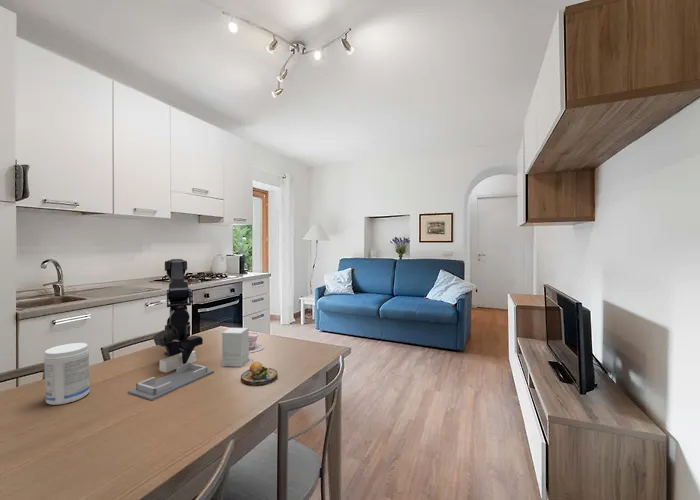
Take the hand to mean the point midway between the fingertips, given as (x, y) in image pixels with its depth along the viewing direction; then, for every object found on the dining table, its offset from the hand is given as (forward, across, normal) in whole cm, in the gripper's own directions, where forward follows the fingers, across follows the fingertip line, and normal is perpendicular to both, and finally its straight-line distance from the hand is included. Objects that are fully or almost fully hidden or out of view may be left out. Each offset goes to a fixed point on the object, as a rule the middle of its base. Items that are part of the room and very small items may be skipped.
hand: (178, 362), depth 115 cm
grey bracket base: (+1, +11, -10) cm, 15 cm away
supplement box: (+2, +17, +11) cm, 20 cm away
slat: (+2, 0, 0) cm, 2 cm away
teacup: (+2, +10, +26) cm, 28 cm away
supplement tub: (+2, -7, -30) cm, 31 cm away
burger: (+2, +34, +4) cm, 34 cm away
